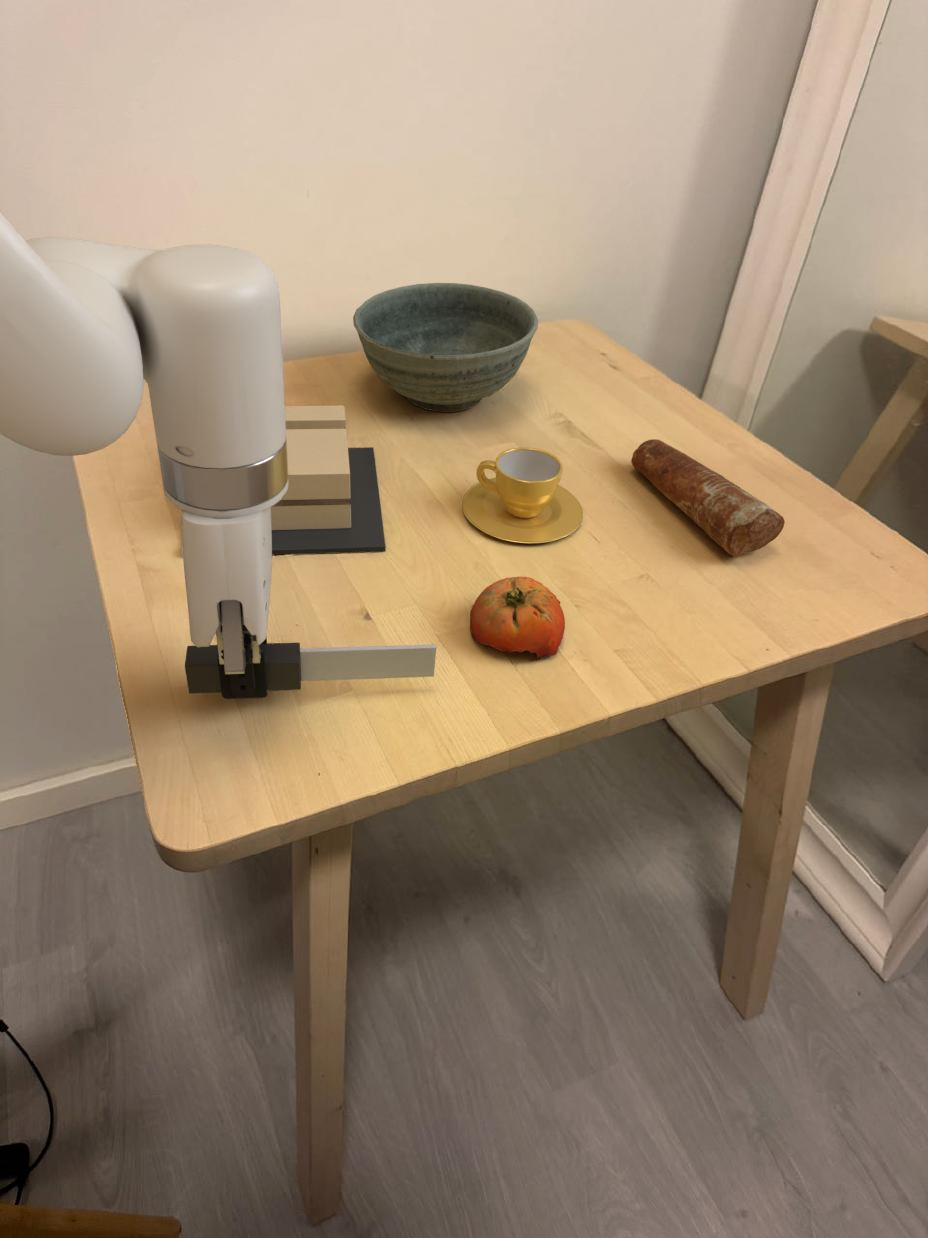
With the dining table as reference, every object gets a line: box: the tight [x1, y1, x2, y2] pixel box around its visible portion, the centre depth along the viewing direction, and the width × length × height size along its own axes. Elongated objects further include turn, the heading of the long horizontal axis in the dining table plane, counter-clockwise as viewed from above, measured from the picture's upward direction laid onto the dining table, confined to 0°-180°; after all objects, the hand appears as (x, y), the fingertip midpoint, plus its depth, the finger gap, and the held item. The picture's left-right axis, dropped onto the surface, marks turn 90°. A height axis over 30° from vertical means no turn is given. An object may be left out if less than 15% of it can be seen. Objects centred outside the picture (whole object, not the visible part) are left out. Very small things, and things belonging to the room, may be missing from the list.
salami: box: [630, 439, 785, 558], centre depth 90 cm, size 6×19×6 cm, turn 25°
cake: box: [271, 428, 387, 556], centre depth 87 cm, size 18×18×7 cm
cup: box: [461, 446, 584, 544], centre depth 88 cm, size 12×12×5 cm
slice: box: [285, 405, 347, 430], centre depth 90 cm, size 12×3×6 cm, turn 98°
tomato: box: [469, 576, 566, 662], centre depth 75 cm, size 8×7×7 cm
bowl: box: [352, 282, 539, 413], centre depth 105 cm, size 21×21×10 cm
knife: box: [184, 642, 437, 695], centre depth 67 cm, size 18×2×3 cm, turn 98°
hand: (245, 680), depth 67 cm, fingers closed on knife, 2 cm apart
